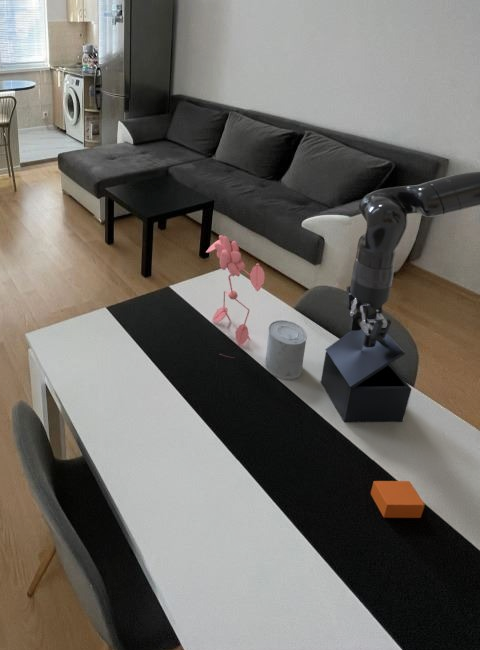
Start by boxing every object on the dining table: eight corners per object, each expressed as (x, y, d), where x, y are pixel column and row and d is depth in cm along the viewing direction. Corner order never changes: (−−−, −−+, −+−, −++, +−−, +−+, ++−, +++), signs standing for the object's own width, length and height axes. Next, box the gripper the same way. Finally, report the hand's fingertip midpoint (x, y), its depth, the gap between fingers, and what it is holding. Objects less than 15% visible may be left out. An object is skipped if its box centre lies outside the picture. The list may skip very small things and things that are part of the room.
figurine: (217, 305, 148) (221, 215, 136) (270, 356, 125) (282, 253, 113) (178, 317, 144) (179, 225, 131) (227, 372, 121) (233, 267, 108)
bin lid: (373, 317, 107) (358, 304, 106) (405, 353, 96) (388, 339, 94) (327, 350, 112) (311, 338, 110) (352, 389, 100) (335, 375, 99)
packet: (405, 493, 89) (409, 480, 87) (420, 518, 84) (425, 505, 83) (370, 493, 89) (373, 480, 88) (383, 517, 85) (387, 504, 83)
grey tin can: (261, 370, 121) (264, 336, 116) (269, 349, 128) (272, 316, 123) (298, 384, 115) (303, 349, 111) (304, 361, 123) (309, 327, 118)
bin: (372, 381, 115) (380, 350, 111) (402, 422, 103) (411, 388, 99) (320, 382, 116) (325, 351, 112) (344, 422, 104) (350, 389, 100)
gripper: (410, 296, 89) (397, 359, 95) (370, 259, 102) (361, 317, 108) (372, 298, 90) (362, 360, 96) (338, 261, 103) (330, 318, 109)
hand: (361, 337), depth 102 cm, fingers closed on bin lid, 5 cm apart
